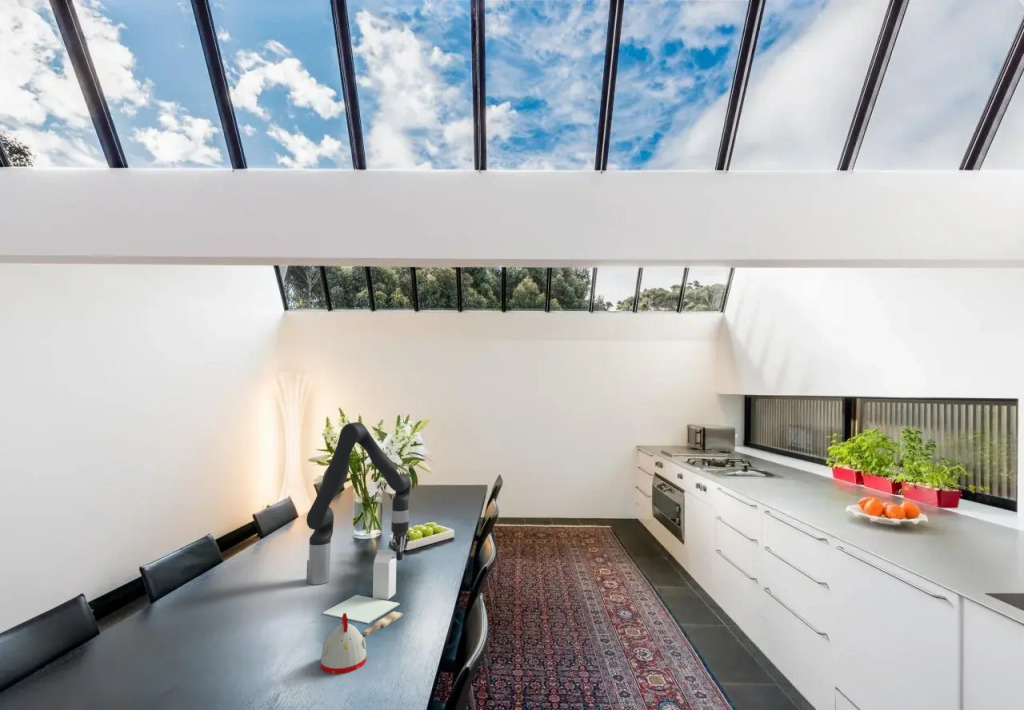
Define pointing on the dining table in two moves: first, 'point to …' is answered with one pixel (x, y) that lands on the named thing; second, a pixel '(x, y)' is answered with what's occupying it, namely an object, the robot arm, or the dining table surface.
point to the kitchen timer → (343, 649)
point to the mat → (361, 609)
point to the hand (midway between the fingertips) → (399, 560)
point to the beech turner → (383, 622)
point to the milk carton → (384, 575)
